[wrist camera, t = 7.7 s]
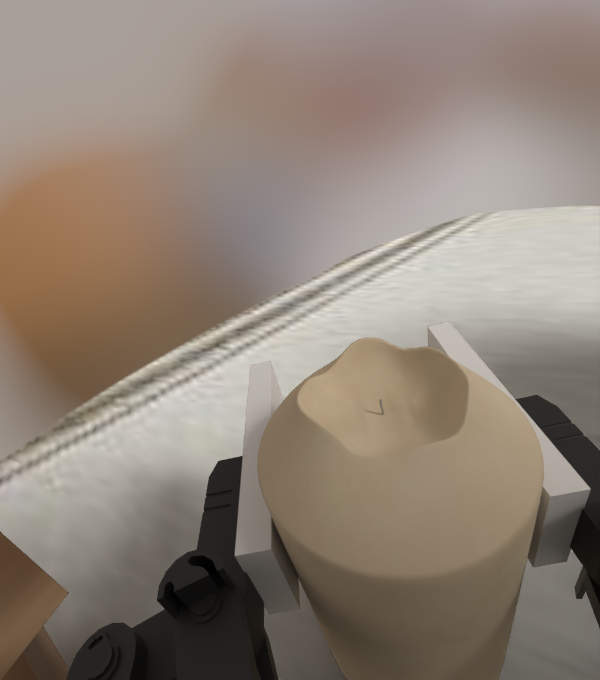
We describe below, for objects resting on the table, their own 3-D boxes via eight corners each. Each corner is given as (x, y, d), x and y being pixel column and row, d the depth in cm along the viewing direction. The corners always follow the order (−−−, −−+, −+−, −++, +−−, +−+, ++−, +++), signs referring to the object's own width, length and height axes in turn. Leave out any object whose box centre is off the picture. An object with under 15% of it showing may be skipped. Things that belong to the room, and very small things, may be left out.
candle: (332, 739, 10) (206, 549, 5) (321, 539, 15) (251, 330, 9) (543, 726, 10) (664, 492, 4) (463, 521, 14) (472, 288, 9)
